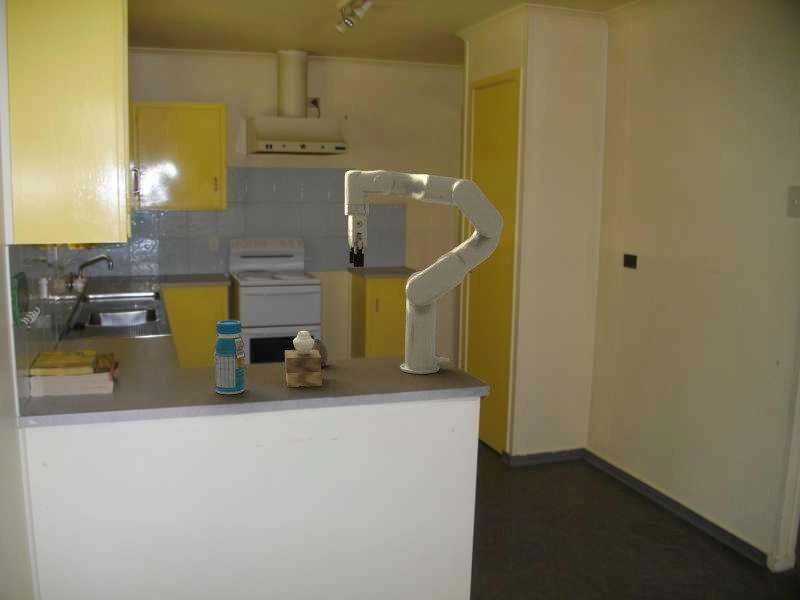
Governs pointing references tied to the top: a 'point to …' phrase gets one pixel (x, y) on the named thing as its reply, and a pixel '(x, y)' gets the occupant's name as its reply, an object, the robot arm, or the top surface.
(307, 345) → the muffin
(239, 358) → the beverage bottle
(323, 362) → the vase
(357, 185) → the robot arm
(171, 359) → the top surface
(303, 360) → the tower top
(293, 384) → the tower base
